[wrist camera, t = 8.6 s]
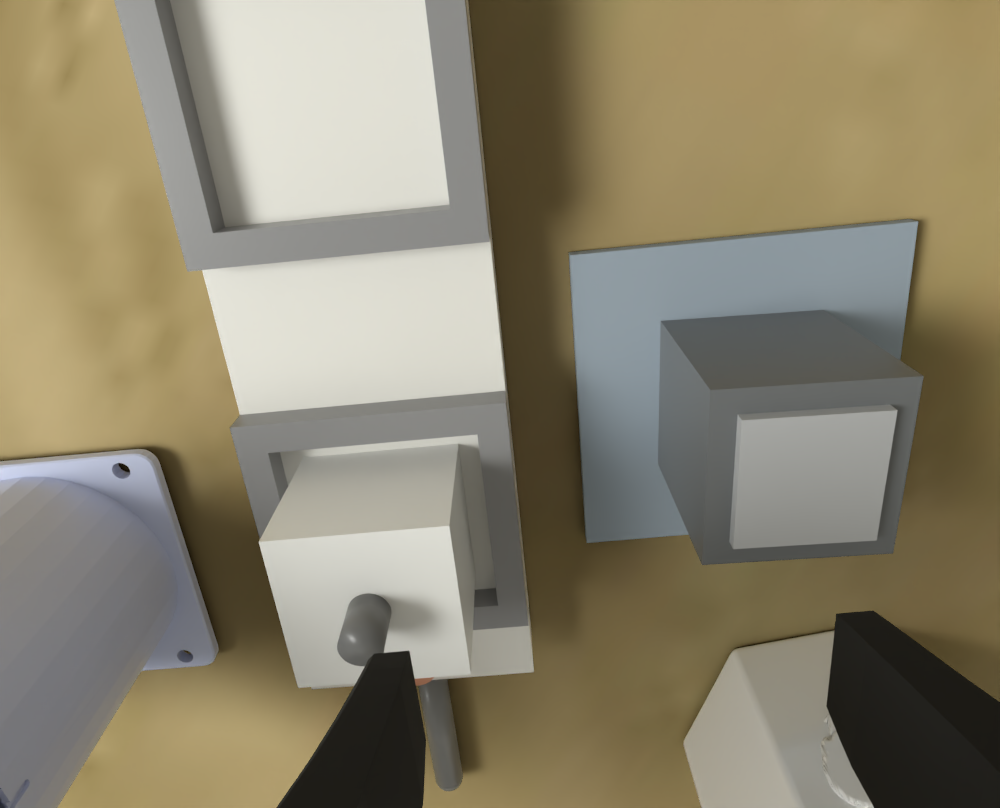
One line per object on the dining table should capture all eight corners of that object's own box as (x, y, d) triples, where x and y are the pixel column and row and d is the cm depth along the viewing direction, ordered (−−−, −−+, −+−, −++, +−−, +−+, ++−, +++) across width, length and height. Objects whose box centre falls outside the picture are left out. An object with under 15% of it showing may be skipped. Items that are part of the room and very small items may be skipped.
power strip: (358, 780, 27) (344, 852, 25) (134, -139, 16) (65, -184, 13) (544, 766, 27) (550, 838, 24) (450, -176, 16) (442, -229, 13)
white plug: (332, 584, 21) (284, 727, 16) (303, 457, 19) (241, 575, 15) (475, 572, 21) (468, 713, 16) (458, 443, 19) (445, 558, 15)
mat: (585, 535, 23) (587, 543, 22) (568, 252, 19) (570, 254, 19) (873, 511, 23) (879, 518, 22) (910, 219, 19) (918, 221, 19)
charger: (657, 463, 21) (705, 572, 17) (660, 320, 20) (714, 395, 15) (807, 454, 21) (899, 560, 16) (823, 309, 20) (932, 381, 15)
